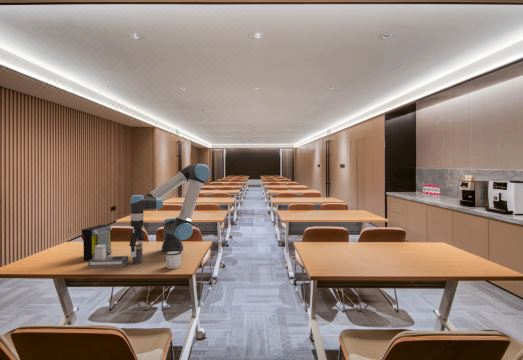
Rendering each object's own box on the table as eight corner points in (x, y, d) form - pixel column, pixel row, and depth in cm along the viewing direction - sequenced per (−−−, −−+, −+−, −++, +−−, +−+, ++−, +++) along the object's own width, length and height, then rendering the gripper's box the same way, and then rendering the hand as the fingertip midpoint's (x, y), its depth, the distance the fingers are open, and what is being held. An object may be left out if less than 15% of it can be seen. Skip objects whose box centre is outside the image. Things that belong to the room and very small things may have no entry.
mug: (167, 264, 187) (167, 250, 187) (183, 264, 187) (183, 249, 187) (162, 271, 175) (162, 255, 175) (178, 270, 175) (178, 255, 175)
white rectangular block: (106, 262, 188) (105, 244, 188) (102, 264, 184) (102, 246, 183) (98, 262, 188) (97, 244, 187) (94, 264, 183) (94, 246, 183)
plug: (142, 261, 193) (142, 244, 193) (140, 263, 189) (140, 246, 188) (135, 261, 193) (134, 244, 192) (132, 263, 188) (132, 246, 188)
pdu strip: (128, 262, 192) (128, 255, 192) (123, 266, 183) (123, 260, 182) (95, 263, 190) (95, 256, 190) (88, 267, 181) (88, 261, 181)
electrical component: (95, 261, 193) (94, 230, 192) (81, 260, 195) (80, 229, 194) (113, 253, 210) (113, 225, 210) (100, 253, 212) (100, 224, 212)
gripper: (137, 216, 202) (136, 248, 202) (123, 223, 177) (123, 259, 178) (148, 216, 203) (148, 248, 203) (137, 223, 178) (136, 259, 178)
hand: (136, 253), depth 190 cm, fingers open, 13 cm apart
